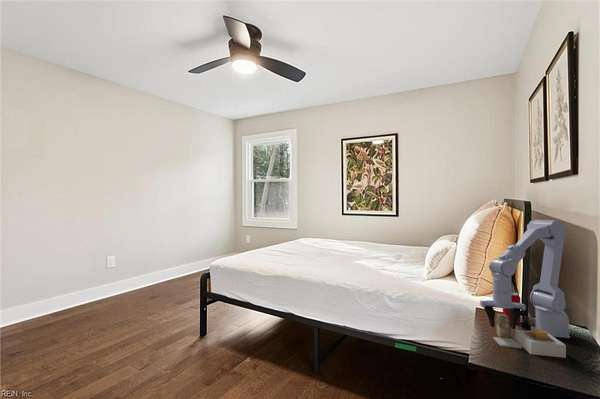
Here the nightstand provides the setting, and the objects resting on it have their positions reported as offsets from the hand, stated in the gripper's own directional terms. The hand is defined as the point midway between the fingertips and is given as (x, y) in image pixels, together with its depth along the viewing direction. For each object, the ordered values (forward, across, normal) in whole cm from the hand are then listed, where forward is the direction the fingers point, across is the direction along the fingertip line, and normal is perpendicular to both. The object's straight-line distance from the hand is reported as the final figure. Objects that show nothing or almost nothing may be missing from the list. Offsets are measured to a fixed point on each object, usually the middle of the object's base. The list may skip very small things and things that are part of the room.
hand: (502, 327), depth 111 cm
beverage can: (+4, +11, +18) cm, 21 cm away
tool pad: (+3, -1, -6) cm, 7 cm away
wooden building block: (+3, 0, 0) cm, 3 cm away
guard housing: (+3, +8, -8) cm, 12 cm away
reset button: (0, +8, -8) cm, 11 cm away
